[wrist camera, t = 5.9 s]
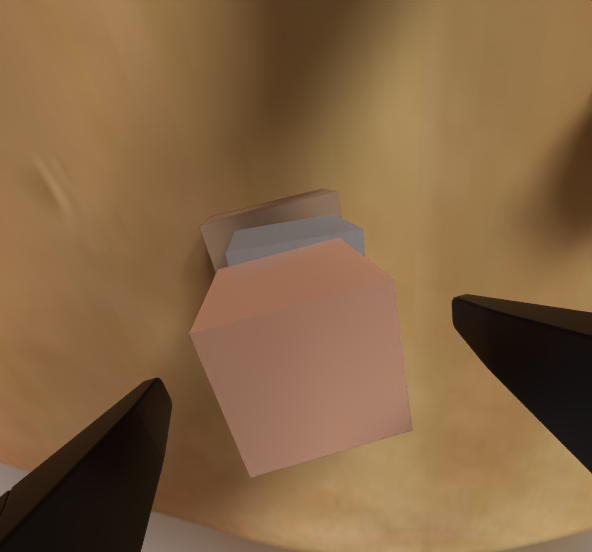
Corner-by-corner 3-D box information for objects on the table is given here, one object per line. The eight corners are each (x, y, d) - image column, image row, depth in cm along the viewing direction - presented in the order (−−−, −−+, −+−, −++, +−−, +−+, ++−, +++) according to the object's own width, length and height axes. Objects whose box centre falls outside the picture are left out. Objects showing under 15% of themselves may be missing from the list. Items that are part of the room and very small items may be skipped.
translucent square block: (320, 188, 18) (337, 191, 14) (340, 288, 20) (358, 313, 17) (211, 216, 18) (199, 226, 14) (244, 314, 20) (241, 345, 16)
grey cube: (332, 213, 15) (363, 228, 10) (342, 302, 16) (371, 345, 12) (235, 230, 14) (225, 252, 10) (255, 318, 16) (253, 369, 12)
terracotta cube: (338, 237, 10) (392, 278, 6) (358, 341, 12) (412, 430, 8) (218, 269, 10) (188, 334, 6) (253, 370, 12) (250, 478, 8)
